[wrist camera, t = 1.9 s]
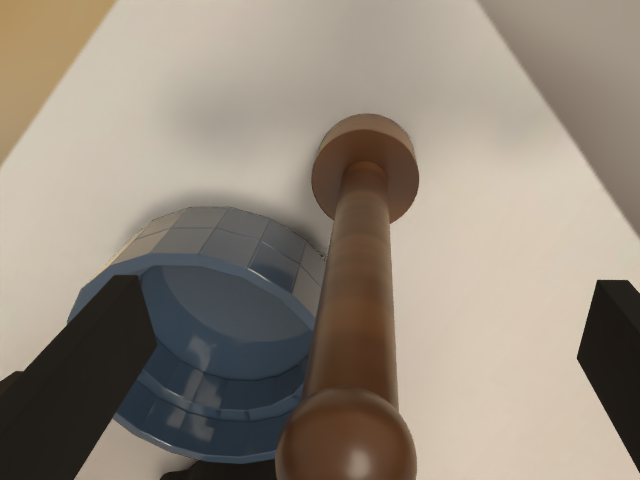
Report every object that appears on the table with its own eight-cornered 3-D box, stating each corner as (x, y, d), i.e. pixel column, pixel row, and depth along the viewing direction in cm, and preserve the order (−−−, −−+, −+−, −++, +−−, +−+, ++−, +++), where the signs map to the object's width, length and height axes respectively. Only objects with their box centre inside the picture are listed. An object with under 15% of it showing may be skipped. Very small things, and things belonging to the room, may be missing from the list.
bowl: (91, 203, 28) (25, 252, 23) (343, 201, 26) (334, 254, 21) (150, 387, 35) (110, 456, 30) (350, 395, 33) (345, 471, 28)
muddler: (315, 115, 24) (164, 419, 7) (416, 111, 23) (519, 438, 6) (320, 206, 26) (219, 593, 10) (412, 205, 26) (479, 620, 9)
